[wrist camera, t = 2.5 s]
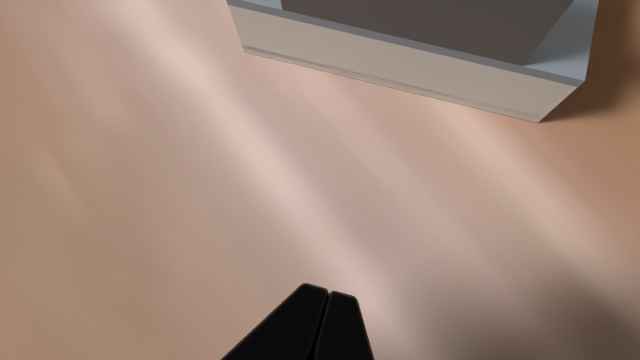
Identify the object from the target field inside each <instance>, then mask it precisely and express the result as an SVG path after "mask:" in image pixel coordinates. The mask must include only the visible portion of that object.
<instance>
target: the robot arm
mask: <svg viewBox="0 0 640 360" xmlns="http://www.w3.org/2000/svg"><path fill="white" fill-rule="evenodd" d="M328 295H329V296H328ZM221 360H374V356H373V353H372V349H371V346H370V342H369V339H368V335H367V332H366V328H365V325H364V321H363V318H362V314H361V311H360V307H359V303H358V301H357V299H356V298H355V297H354V296H352V295H348V294H344V293H341V292H337V291H331V292H330V293H329V292H328V290H327V289H326V288H323V287H319V286H316V285H312V284H308V283H304V284H302V285H300V286H299V287H298V288H297V289H296V290H295V291H294V292H293V293H292V294H290V295H289V296H288V297H287V298H286V299H285V300H284V301H283V302H282V303H281V304H280V305H279V306H278V307H277V308H275V309H274V310H273V311H272V312H271V313H270V314H269V315H268V316H267V317H266V318H265V319H264V320H263V321H262V322H260V323H259V324H258V325H257V326H256V327H255V328H254V329H253V330H252V331H251V332H250V333H249V334H248V335H247V336H245V337H244V338H243V339H242V340H241V341H240V342H239V343H238V344H237V345H236V346H235V347H234V348H233V349H232V350H230V351H229V352H228V353H227V354H226V355H225V356H224V357H223V358H222V359H221Z"/></svg>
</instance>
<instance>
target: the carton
mask: <svg viewBox="0 0 640 360" xmlns="http://www.w3.org/2000/svg"><path fill="white" fill-rule="evenodd" d="M228 7H229V10H230V13H231V15H232V18H233V21H234V24H235V27H236V30H237V33H238V35H239V38H240V41H241V44H242V47H243V50H244V52H247V53H251V54H255V55H259V56H264V57H268V58H272V59H276V60H280V61H284V62H288V63H292V64H297V65H301V66H305V67H309V68H313V69H317V70H321V71H325V72H330V73H334V74H338V75H342V76H346V77H350V78H354V79H358V80H363V81H367V82H371V83H375V84H379V85H383V86H387V87H391V88H396V89H400V90H404V91H408V92H412V93H416V94H420V95H424V96H429V97H433V98H437V99H441V100H445V101H449V102H453V103H457V104H462V105H466V106H470V107H474V108H478V109H482V110H486V111H490V112H495V113H499V114H503V115H507V116H511V117H515V118H519V119H523V120H528V121H532V122H536V123H538V122H539V121H540V120H541V119H543V118H544V117H545V116H546V115H547V114H548V113H549V112H550V111H551V110H553V109H554V108H555V107H556V106H557V105H558V104H559V103H560V102H562V101H563V100H564V99H565V98H566V97H567V96H568V95H569V94H571V93H572V92H573V91H574V90H575V89H576V88H577V87H575V86H571V85H567V84H563V83H558V82H554V81H550V80H546V79H541V78H537V77H533V76H529V75H524V74H520V73H516V72H512V71H507V70H503V69H499V68H495V67H490V66H486V65H482V64H478V63H473V62H469V61H465V60H461V59H456V58H452V57H448V56H444V55H439V54H435V53H431V52H427V51H422V50H418V49H414V48H410V47H405V46H401V45H397V44H393V43H388V42H384V41H380V40H376V39H371V38H367V37H363V36H359V35H354V34H350V33H346V32H342V31H337V30H333V29H329V28H325V27H320V26H316V25H312V24H308V23H303V22H299V21H295V20H291V19H286V18H282V17H278V16H274V15H269V14H265V13H261V12H257V11H252V10H248V9H244V8H240V7H235V6H231V5H228Z"/></svg>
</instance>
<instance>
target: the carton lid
mask: <svg viewBox="0 0 640 360" xmlns="http://www.w3.org/2000/svg"><path fill="white" fill-rule="evenodd" d="M226 1H227V4H228V5H231V6H235V7H240V8H244V9H248V10H252V11H257V12H261V13H265V14H269V15H274V16H278V17H282V18H286V19H291V20H295V21H299V22H303V23H308V24H312V25H316V26H320V27H325V28H329V29H333V30H337V31H342V32H346V33H350V34H354V35H359V36H363V37H367V38H371V39H376V40H380V41H384V42H388V43H393V44H397V45H401V46H405V47H410V48H414V49H418V50H422V51H427V52H431V53H435V54H439V55H444V56H448V57H452V58H456V59H461V60H465V61H469V62H473V63H478V64H482V65H486V66H490V67H495V68H499V69H503V70H507V71H512V72H516V73H520V74H524V75H529V76H533V77H537V78H541V79H546V80H550V81H554V82H558V83H563V84H567V85H571V86H575V87H579V86H580V85H581V84H582V83H583V82H584V81H585V78H586V72H587V66H588V60H589V55H590V49H591V43H592V37H593V32H594V26H595V20H596V14H597V9H598V3H599V0H226Z"/></svg>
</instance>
